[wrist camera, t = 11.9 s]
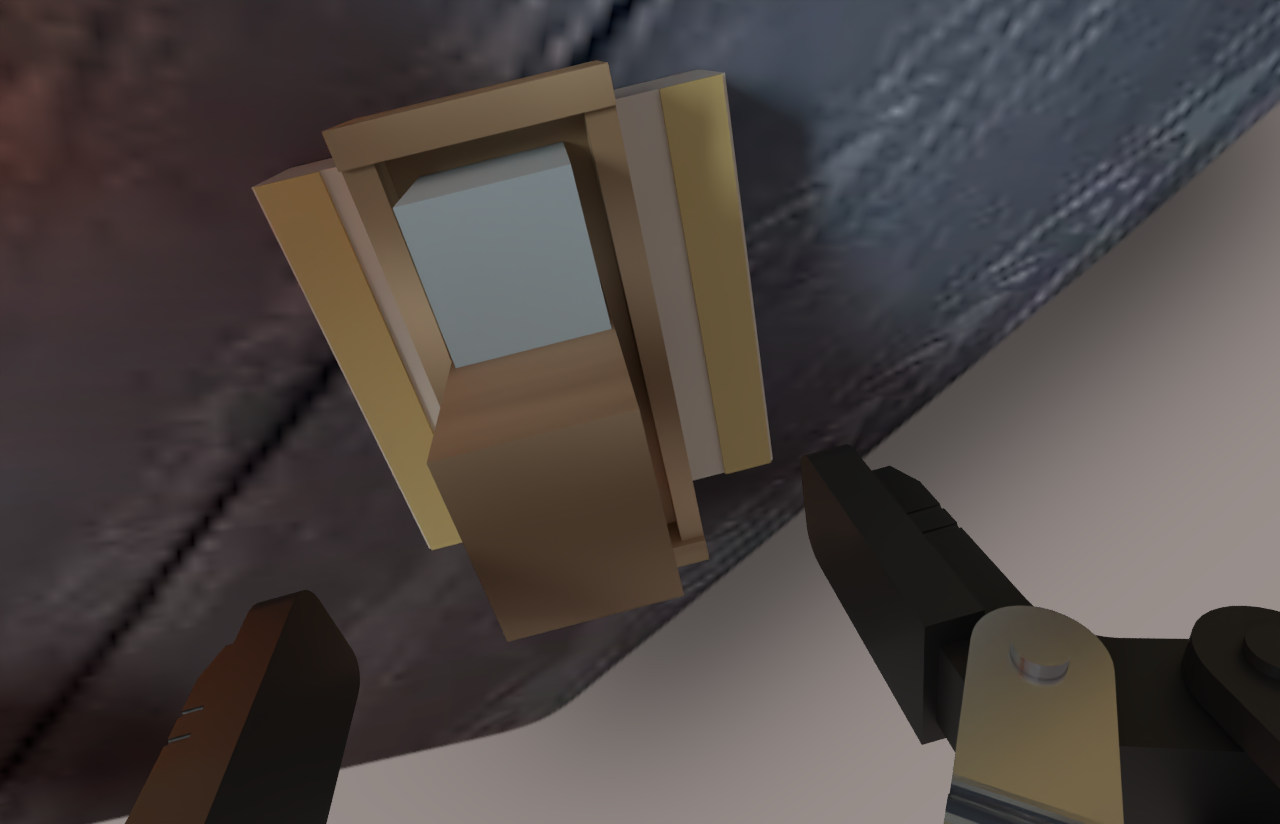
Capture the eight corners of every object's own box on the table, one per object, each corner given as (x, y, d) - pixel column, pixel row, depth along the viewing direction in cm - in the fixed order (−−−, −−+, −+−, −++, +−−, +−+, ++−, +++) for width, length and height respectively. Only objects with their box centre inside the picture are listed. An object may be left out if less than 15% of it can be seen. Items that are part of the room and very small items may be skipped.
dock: (289, 167, 19) (249, 188, 16) (698, 69, 19) (726, 72, 16) (439, 495, 25) (428, 551, 22) (747, 416, 25) (773, 462, 22)
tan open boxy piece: (352, 119, 16) (195, 183, 8) (596, 60, 16) (653, 72, 8) (523, 550, 23) (520, 791, 15) (690, 506, 23) (767, 724, 15)
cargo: (419, 176, 15) (392, 208, 12) (562, 141, 15) (570, 164, 12) (468, 311, 17) (456, 368, 14) (597, 279, 17) (611, 328, 14)
